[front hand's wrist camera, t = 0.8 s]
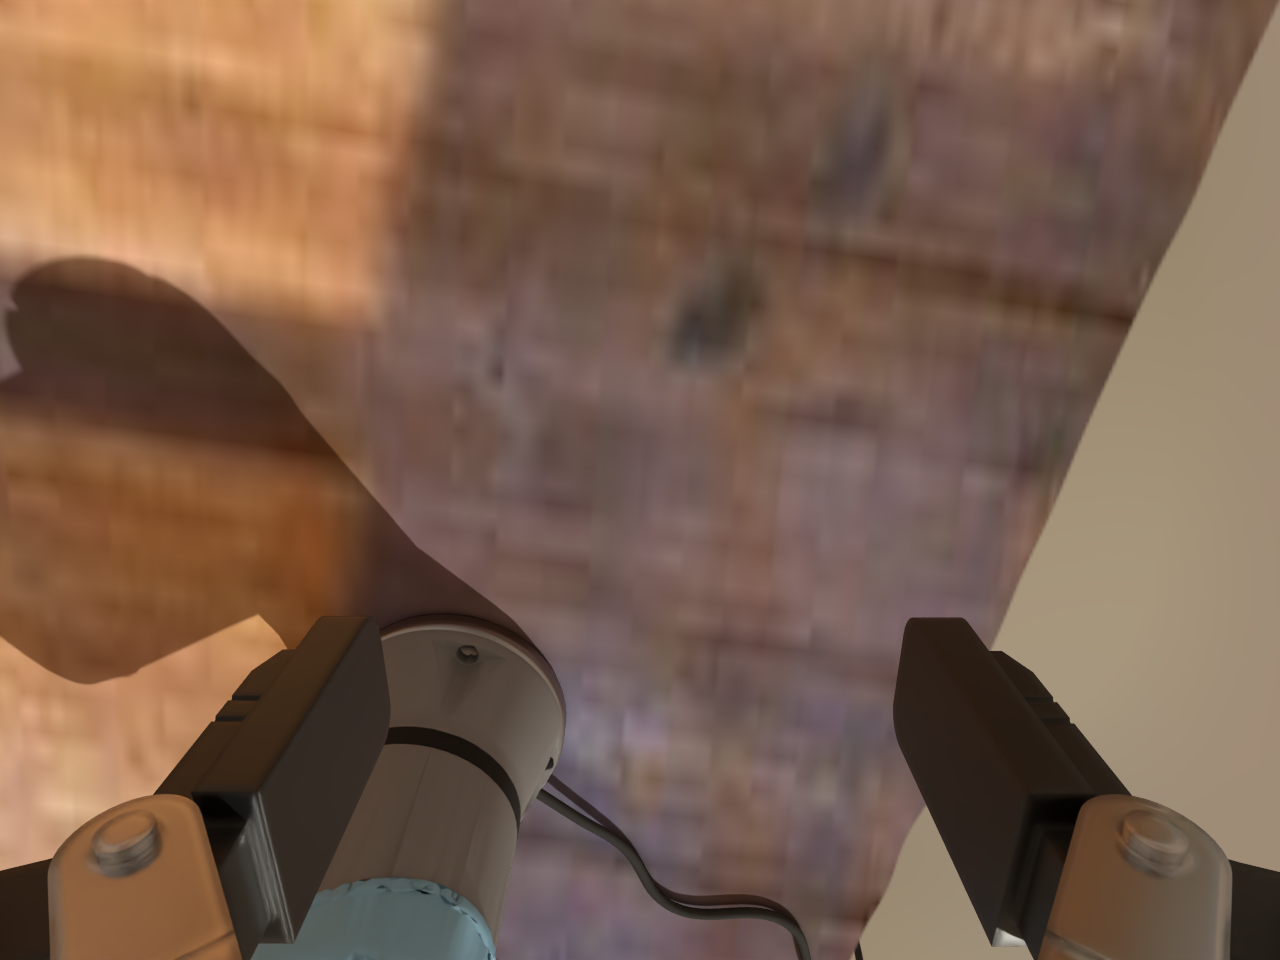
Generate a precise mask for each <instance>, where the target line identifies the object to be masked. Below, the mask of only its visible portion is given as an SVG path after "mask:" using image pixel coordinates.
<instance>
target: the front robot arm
mask: <svg viewBox="0 0 1280 960" xmlns="http://www.w3.org/2000/svg"><path fill="white" fill-rule="evenodd" d="M390 714H391V705H390V696H389V689H388V682H387V675H386V668H385V662H384V655H383V648H382V641H381V635H380V629H379V625H378V622H377V620H376V619H375V618H374V617H373V616H323V617H321V618H319V619H318V620H317V621H316V623H315V624H314V625H313V627H312V628H311V629H310V631H309V632H308V633H307V635H306V636H305V638H304V639H303V640H302V642H301V643H300V644H299V646H298V647H297V648H296V650H281V651H280V652H279V653H277V654H276V655H274V656H273V657H271V658H270V659H268V660H267V661H265V662H264V663H262V664H261V665H260V666H258V667H257V668H255V669H254V670H252V671H251V672H250V674H249V675H248V676H247V677H246V679H245V680H244V681H243V682H242V684H241V685H240V686H239V687H238V689H237V690H236V691H235V693H234V694H233V695H232V700H231V701H227V703H226V704H225V705H224V706H223V708H222V709H221V710H220V711H219V713H218V714H217V715H216V720H215V722H211V723H210V724H209V725H208V726H207V728H206V729H205V730H204V731H203V733H202V734H201V735H200V736H199V738H198V739H197V740H196V741H195V743H194V744H193V745H192V747H191V748H190V749H189V750H188V752H187V753H186V754H185V755H184V757H183V758H182V759H181V760H180V762H179V763H178V764H177V765H176V767H175V768H174V769H173V770H172V772H171V773H170V774H169V775H168V777H167V778H166V779H165V780H164V782H163V783H162V784H161V785H160V787H159V788H158V789H157V790H156V792H155V793H154V794H153V795H151V796H145V797H141V798H137V799H133V800H130V801H127V802H125V803H122V804H119V805H117V806H115V807H113V808H110V809H108V810H106V811H105V812H103V813H101V814H99V815H97V816H96V817H94V818H93V819H91V820H90V821H88V822H86V823H85V824H84V825H82V826H81V827H80V828H79V829H77V830H76V831H75V832H74V833H73V834H72V835H71V836H70V837H69V838H68V839H66V840H65V842H64V843H63V844H62V845H61V846H60V848H59V849H58V850H57V852H56V853H55V855H54V857H53V858H51V859H48V860H44V861H39V862H35V863H31V864H27V865H23V866H19V867H14V868H10V869H6V870H2V871H0V960H251V958H252V956H253V954H254V952H255V950H256V948H257V946H258V944H294V942H295V940H296V938H297V935H298V933H299V931H300V929H301V927H302V924H303V922H304V920H305V918H306V916H307V913H308V911H309V909H310V907H311V905H312V903H313V900H314V898H315V896H316V894H317V892H318V889H319V887H320V885H321V883H322V881H323V878H324V876H325V874H326V872H327V870H328V867H329V865H330V863H331V861H332V859H333V856H334V854H335V852H336V850H337V848H338V845H339V843H340V841H341V839H342V837H343V834H344V832H345V830H346V828H347V826H348V823H349V821H350V819H351V817H352V815H353V812H354V810H355V808H356V806H357V804H358V802H359V799H360V797H361V795H362V793H363V791H364V788H365V786H366V784H367V782H368V780H369V777H370V775H371V773H372V771H373V769H374V766H375V764H376V762H377V760H378V758H379V755H380V753H381V751H382V749H383V747H384V744H385V742H386V738H387V735H388V730H389V724H390ZM893 719H894V727H895V733H896V737H897V740H898V744H899V746H900V748H901V751H902V753H903V755H904V757H905V759H906V761H907V764H908V766H909V768H910V770H911V772H912V774H913V777H914V779H915V781H916V783H917V785H918V787H919V790H920V792H921V794H922V796H923V798H924V801H925V803H926V805H927V807H928V809H929V811H930V814H931V816H932V818H933V820H934V822H935V824H936V827H937V829H938V831H939V833H940V835H941V837H942V840H943V842H944V844H945V846H946V848H947V850H948V852H949V855H950V857H951V859H952V861H953V863H954V866H955V868H956V870H957V872H958V874H959V876H960V879H961V881H962V883H963V885H964V887H965V889H966V892H967V894H968V896H969V898H970V900H971V902H972V905H973V907H974V909H975V911H976V913H977V915H978V918H979V920H980V922H981V924H982V926H983V929H984V931H985V933H986V935H987V937H988V939H989V941H990V944H991V946H992V947H1028V949H1029V951H1030V953H1031V955H1032V957H1033V959H1034V960H1280V872H1277V871H1273V870H1268V869H1264V868H1260V867H1256V866H1252V865H1248V864H1244V863H1239V862H1236V861H1233V860H1229V859H1228V858H1227V857H1226V855H1225V854H1224V852H1223V850H1222V849H1221V848H1220V846H1219V845H1218V844H1217V843H1216V842H1215V840H1213V839H1212V838H1211V837H1210V836H1209V835H1208V834H1207V833H1206V832H1205V831H1204V830H1203V829H1201V828H1200V827H1199V826H1198V825H1196V824H1195V823H1194V822H1192V821H1190V820H1189V819H1187V818H1186V817H1184V816H1183V815H1181V814H1179V813H1177V812H1175V811H1174V810H1172V809H1170V808H1167V807H1165V806H1163V805H1161V804H1158V803H1155V802H1152V801H1150V800H1147V799H1143V798H1139V797H1135V796H1132V795H1131V794H1130V793H1129V791H1128V790H1127V789H1126V788H1125V786H1124V785H1123V784H1122V783H1121V781H1120V780H1119V779H1118V778H1117V776H1116V775H1115V774H1114V773H1113V771H1112V770H1111V769H1110V768H1109V766H1108V765H1107V764H1106V763H1105V761H1104V760H1103V759H1102V758H1101V756H1100V755H1099V754H1098V753H1097V751H1096V750H1095V749H1094V748H1093V746H1092V745H1091V744H1090V743H1089V741H1088V740H1087V739H1086V738H1085V737H1084V735H1083V734H1082V733H1081V731H1080V730H1079V729H1078V728H1077V727H1076V725H1075V724H1071V723H1070V718H1069V717H1068V715H1067V714H1066V713H1065V712H1064V710H1063V709H1062V708H1061V707H1060V705H1059V704H1058V703H1057V702H1053V697H1052V695H1051V694H1050V693H1049V692H1048V690H1047V689H1046V688H1045V687H1044V686H1043V684H1042V683H1041V682H1040V680H1039V679H1038V678H1037V677H1036V675H1035V674H1034V673H1033V672H1032V671H1030V670H1029V669H1027V668H1026V667H1024V666H1023V665H1021V664H1020V663H1019V662H1017V661H1016V660H1014V659H1013V658H1011V657H1010V656H1008V655H1007V654H1005V653H1004V652H1002V651H989V650H988V649H987V648H986V646H985V645H984V644H983V642H982V641H981V640H980V638H979V637H978V635H977V634H976V633H975V631H974V630H973V629H972V627H971V626H970V625H969V623H968V622H967V621H966V620H965V619H963V618H910V619H909V620H908V622H907V624H906V626H905V630H904V636H903V642H902V649H901V656H900V662H899V669H898V676H897V682H896V689H895V696H894V703H893Z"/></svg>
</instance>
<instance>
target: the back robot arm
mask: <svg viewBox="0 0 1280 960" xmlns="http://www.w3.org/2000/svg"><path fill="white" fill-rule="evenodd" d="M380 635H381V641H382V648H383V655H384V662H385V668H386V675H387V682H388V689H389V696H390V705H391V714H390V724H389V730H388V735H387V738H386V742H385V744H384V747H383V749H382V751H381V753H380V755H379V758H378V760H377V762H376V764H375V766H374V769H373V771H372V773H371V775H370V777H369V780H368V782H367V784H366V786H365V788H364V791H363V793H362V795H361V797H360V799H359V802H358V804H357V806H356V808H355V810H354V812H353V815H352V817H351V819H350V821H349V823H348V826H347V828H346V830H345V832H344V834H343V837H342V839H341V841H340V843H339V845H338V848H337V850H336V852H335V854H334V856H333V859H332V861H331V863H330V865H329V867H328V870H327V872H326V874H325V876H324V878H323V881H322V883H321V885H320V887H319V889H318V892H317V894H316V896H315V898H314V900H313V903H312V905H311V907H310V909H309V911H308V913H307V916H306V918H305V920H304V922H303V924H302V927H301V929H300V931H299V933H298V935H297V938H296V940H295V942H294V944H258V946H257V948H256V950H255V952H254V954H253V956H252V958H251V960H496V948H497V942H498V937H499V932H500V927H501V921H502V916H503V911H504V905H505V900H506V895H507V890H508V884H509V879H510V874H511V868H512V863H513V858H514V852H515V847H516V842H517V837H518V831H519V826H520V822H521V820H522V819H523V817H524V816H525V814H526V812H527V811H528V809H529V808H530V806H531V805H532V803H533V802H534V800H535V799H536V798H537V799H539V800H540V801H542V802H543V803H545V804H546V805H548V806H550V807H551V808H553V809H554V810H556V811H557V812H559V813H560V814H562V815H564V816H565V817H567V818H568V819H570V820H571V821H573V822H575V823H576V824H578V825H580V826H581V827H583V828H585V829H587V830H588V831H590V832H592V833H594V834H596V835H598V836H600V837H601V838H603V839H605V840H606V841H608V842H610V843H611V844H612V845H614V846H615V847H616V848H618V849H619V850H620V851H621V852H622V853H623V854H624V855H625V856H626V858H627V859H628V860H629V861H630V863H631V864H632V866H633V868H634V869H635V871H636V873H637V875H638V877H639V879H640V880H641V882H642V884H643V886H644V887H645V889H646V890H647V892H648V893H649V895H650V896H651V897H652V898H653V899H654V900H655V901H656V902H657V903H658V904H660V905H661V906H662V907H664V908H665V909H667V910H669V911H671V912H673V913H675V914H678V915H680V916H683V917H687V918H692V919H701V920H719V919H737V918H756V919H764V920H769V921H772V922H775V923H777V924H780V925H782V926H783V927H785V928H786V929H788V930H789V931H790V932H791V933H792V935H793V936H794V937H795V939H796V941H797V943H798V946H799V949H800V953H801V958H802V960H811V957H810V952H809V948H808V944H807V941H806V938H805V936H804V934H803V932H802V931H801V929H800V928H799V927H798V926H797V925H796V924H795V923H794V922H793V921H792V920H790V919H789V918H787V917H786V916H784V915H782V914H780V913H778V912H775V911H772V910H768V909H763V908H753V907H738V908H720V909H700V908H692V907H688V906H683V905H681V904H678V903H676V902H674V901H672V900H670V899H668V898H667V897H666V896H664V895H663V894H662V893H661V892H660V891H659V890H658V888H657V887H656V886H655V884H654V883H653V881H652V880H651V878H650V876H649V874H648V872H647V870H646V868H645V867H644V865H643V863H642V861H641V859H640V858H639V856H638V855H637V854H636V852H635V851H634V850H633V849H632V848H631V847H630V846H629V845H628V844H627V843H626V842H625V841H624V840H623V839H622V838H620V837H619V836H618V835H616V834H615V833H613V832H612V831H610V830H609V829H607V828H605V827H604V826H602V825H600V824H598V823H596V822H594V821H593V820H591V819H589V818H587V817H586V816H584V815H582V814H581V813H579V812H577V811H576V810H574V809H573V808H571V807H570V806H568V805H566V804H565V803H563V802H562V801H560V800H559V799H557V798H556V797H554V796H553V795H551V794H549V793H548V792H546V791H545V790H543V789H542V787H543V786H544V784H545V783H546V781H547V780H548V778H549V777H550V775H551V773H552V772H553V770H554V768H555V766H556V764H557V762H558V760H559V757H560V754H561V750H562V746H563V740H564V733H565V725H566V705H565V700H564V695H563V692H562V689H561V686H560V684H559V682H558V679H557V677H556V676H555V674H554V672H553V670H552V669H551V667H550V666H549V665H548V663H547V662H546V661H545V660H544V658H543V657H542V656H541V655H540V654H539V653H538V652H537V651H536V650H535V649H534V648H533V647H532V646H530V645H529V644H528V643H527V642H525V641H524V640H523V639H521V638H520V637H518V636H517V635H515V634H513V633H512V632H510V631H508V630H506V629H504V628H502V627H500V626H497V625H495V624H492V623H490V622H487V621H483V620H480V619H476V618H472V617H467V616H460V615H448V614H436V615H425V616H418V617H413V618H409V619H406V620H403V621H399V622H397V623H394V624H392V625H390V626H388V627H386V628H384V629H382V630H380ZM854 954H855V959H856V960H863V956H862V951H861V946H860V941H859V942H858V944H857V946H856V948H855V951H854Z"/></svg>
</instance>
